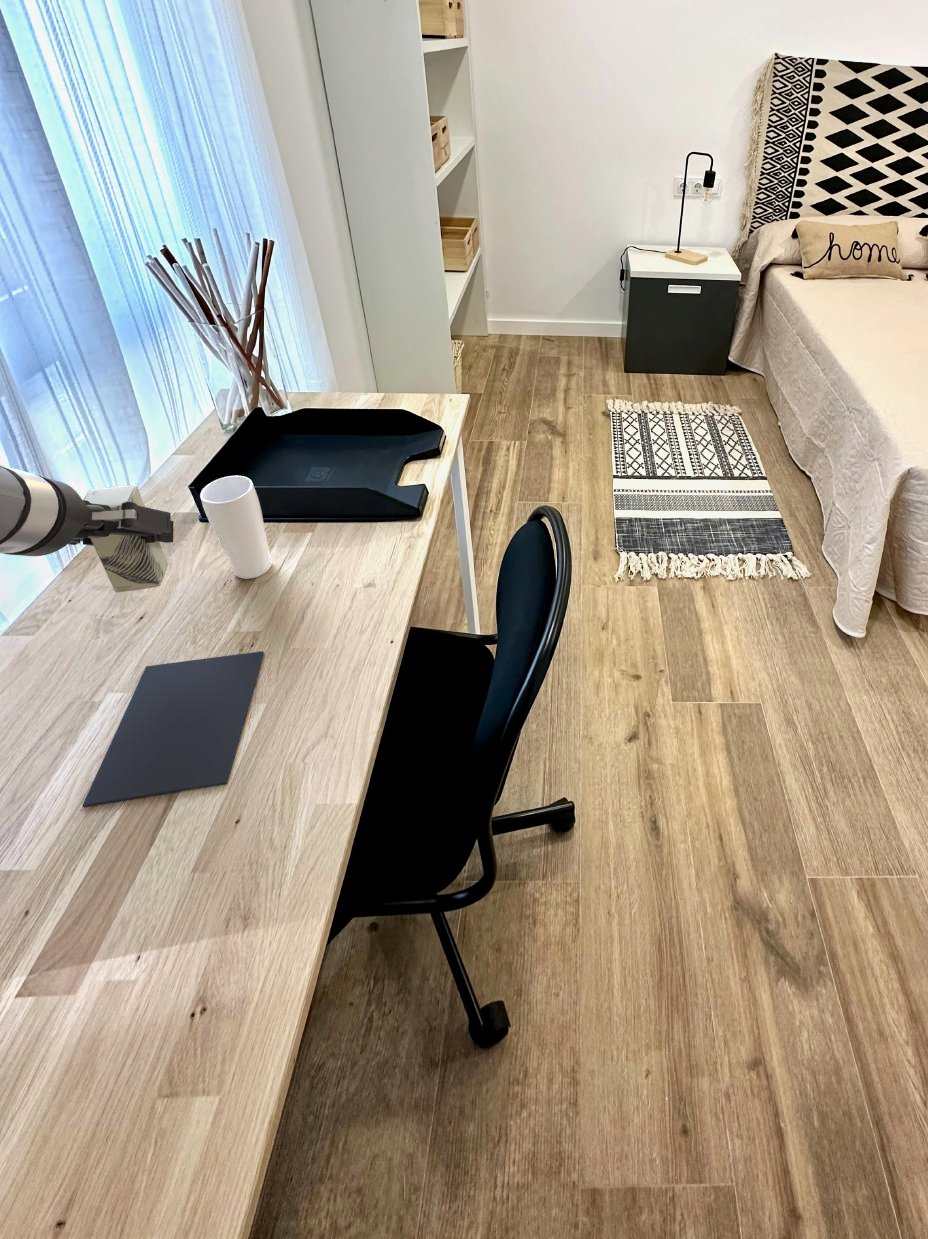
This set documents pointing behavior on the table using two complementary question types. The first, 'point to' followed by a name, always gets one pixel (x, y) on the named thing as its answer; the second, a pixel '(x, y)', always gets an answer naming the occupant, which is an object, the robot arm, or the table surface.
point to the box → (127, 546)
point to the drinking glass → (238, 524)
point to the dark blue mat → (178, 729)
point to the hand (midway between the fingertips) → (143, 534)
